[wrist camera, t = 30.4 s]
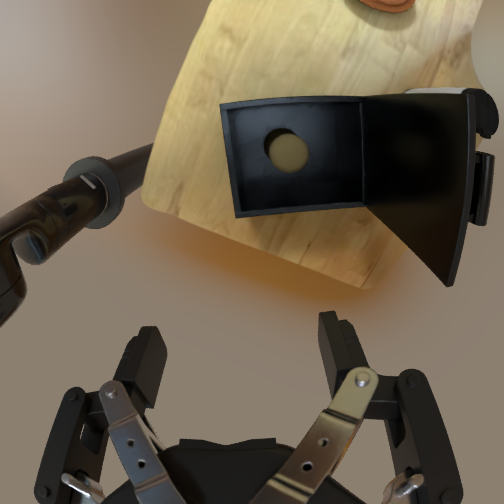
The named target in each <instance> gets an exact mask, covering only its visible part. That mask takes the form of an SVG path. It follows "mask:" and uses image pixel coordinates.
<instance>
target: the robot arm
mask: <svg viewBox="0 0 504 504" xmlns="http://www.w3.org/2000/svg"><path fill="white" fill-rule="evenodd" d="M108 201H109V193H108V189H107V186H106V184H105V182H104V181H103V179H102V178H101V177H100V176H99V175H97V174H95V173H93V172H83V173H80V174H78V175H77V176H75V177H73V178H71V179H69V180H67V181H65V182H63V183H61V184H58V185H55V186H53V187H51V188H49V189H48V190H47V191H46V192H44V193H42V194H40V195H38V196H36V197H35V198H33V199H31V200H29V201H28V202H26V203H24V204H22V205H21V206H19V207H17V208H15V209H14V210H12V211H10V212H8V213H7V214H5V215H4V216H2V217H0V328H1V327H2V326H3V325H4V324H5V323H6V322H7V321H8V320H9V319H10V317H12V315H13V314H14V313H15V312H16V311H17V310H18V308H19V307H20V306H21V304H22V303H23V300H24V299H25V297H26V294H27V285H26V281H25V278H24V275H23V273H22V270H21V267H20V265H19V262H18V259H17V257H16V254H17V255H18V256H19V257H20V258H21V259H22V260H24V261H25V262H26V263H29V264H31V265H40V264H43V263H44V262H46V261H47V260H48V259H49V258H50V257H51V256H52V255H54V253H56V252H57V251H58V250H59V249H60V248H61V247H62V246H63V245H64V244H65V243H67V242H68V241H69V240H70V239H71V238H72V237H73V236H75V235H76V234H77V233H78V232H79V231H81V230H82V229H83V228H84V227H85V226H87V225H88V224H89V223H90V222H92V221H93V220H94V219H95V218H97V217H98V216H100V215H101V214H102V213H103V212H104V211H105V210H106V208H107V205H108ZM15 253H16V254H15ZM318 342H319V348H320V352H321V356H322V360H323V364H324V368H325V372H326V376H327V381H328V385H329V389H330V394H331V398H332V401H331V403H330V405H329V406H328V408H327V409H324V410H323V411H322V412H321V413H320V415H319V416H318V418H317V419H316V421H315V422H314V424H313V425H312V427H311V428H310V430H309V431H308V432H307V434H306V435H305V437H304V438H303V440H302V441H301V443H300V444H299V445H298V446H297V448H296V449H295V448H293V447H290V446H288V445H284V444H278V443H276V438H266V439H251V440H247V441H243V442H239V443H235V444H231V445H221V444H217V443H213V442H209V441H205V440H195V439H194V440H193V439H180V442H179V445H175V446H172V447H169V448H167V449H166V447H165V446H164V445H163V444H162V442H161V441H160V440H159V437H158V436H157V434H156V432H155V431H154V429H153V427H152V425H151V424H150V422H149V420H148V418H147V416H146V415H145V409H146V408H153V409H154V405H155V401H156V397H157V393H158V389H159V386H160V382H161V378H162V374H163V370H164V367H165V363H166V359H167V348H166V345H165V343H164V341H163V339H162V336H161V334H160V332H159V330H158V328H157V327H156V326H143V327H141V329H140V331H139V334H138V336H134V337H133V338H132V339H131V340H130V341H129V343H128V344H127V346H126V348H125V352H124V353H123V356H122V359H121V360H120V363H119V365H118V368H117V370H116V373H115V375H114V378H113V380H112V381H108V382H106V383H105V384H103V385H102V387H101V388H100V390H99V391H96V392H90V393H86V392H85V391H84V390H83V389H82V388H80V387H73V388H71V389H69V390H68V391H67V392H66V393H65V395H64V397H63V400H62V402H61V405H60V407H59V410H58V413H57V415H56V418H55V421H54V424H53V426H52V429H51V432H50V435H49V438H48V441H47V444H46V447H45V451H44V454H43V457H42V461H41V464H40V468H39V471H38V475H37V479H36V483H35V487H34V495H35V498H36V500H37V501H38V502H39V503H40V504H366V503H365V502H363V501H362V500H361V499H359V498H358V497H356V496H355V495H354V494H353V493H351V492H350V491H349V490H347V489H346V488H345V487H343V486H342V485H341V484H340V483H338V482H337V481H336V480H335V479H333V478H332V477H331V476H332V474H333V473H334V471H335V470H336V468H337V466H338V465H339V463H340V461H341V460H342V458H343V457H344V455H345V453H346V451H347V449H348V447H349V446H350V444H351V442H352V440H353V439H354V437H355V435H356V433H357V431H358V429H359V428H360V426H361V424H362V422H363V420H364V419H378V420H384V423H385V427H386V432H387V436H388V440H389V445H390V450H391V454H392V459H393V464H394V469H395V475H396V478H394V479H393V480H392V481H391V482H390V483H389V484H388V485H387V486H386V488H385V490H384V498H383V502H382V504H460V503H461V501H462V499H463V488H462V483H461V479H460V475H459V471H458V468H457V464H456V460H455V457H454V453H453V450H452V447H451V444H450V441H449V438H448V434H447V431H446V428H445V426H444V423H443V419H442V417H441V414H440V411H439V408H438V406H437V403H436V400H435V398H434V395H433V393H432V390H431V388H430V385H429V383H428V380H427V378H426V376H425V375H424V374H423V373H422V372H421V371H419V370H416V369H407V370H404V371H403V372H401V373H400V375H399V376H383V375H379V374H377V373H376V372H375V371H374V370H373V369H371V368H370V367H369V365H368V362H367V360H366V357H365V355H364V352H363V350H362V347H361V344H360V342H359V339H358V337H357V335H356V332H355V329H354V327H353V325H352V324H351V323H349V322H348V321H347V320H339V321H338V318H337V315H336V312H335V311H327V312H320V313H319V325H318ZM83 424H84V425H85V426H84V429H83V432H82V436H81V439H80V435H81V431H82V428H83ZM109 435H110V438H111V440H112V442H113V445H114V447H115V449H116V452H117V454H118V456H119V458H120V461H121V463H122V465H123V467H124V469H125V471H126V473H127V475H128V477H129V479H128V480H127V481H126V482H125V483H124V484H123V485H121V486H120V487H119V488H118V489H116V490H115V491H114V492H113V493H111V494H110V495H109V496H107V498H105V495H104V494H103V490H102V488H101V486H100V485H99V481H100V476H101V470H102V465H103V460H104V456H105V451H106V446H107V441H108V438H109Z"/></svg>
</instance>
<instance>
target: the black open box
mask: <svg viewBox="0 0 504 504" xmlns="http://www.w3.org/2000/svg"><path fill="white" fill-rule="evenodd" d="M220 110H221V111H220V113H221V120H222V127H223V134H224V141H225V149H226V156H227V163H228V170H229V177H230V184H231V190H232V197H233V204H234V211H235V218H244V217H254V216H263V215H273V214H283V213H293V212H304V211H316V210H328V209H340V208H354V207H367V141H366V121H365V107H364V96H297V97H280V98H267V99H257V100H247V101H239V102H231V103H224V104H220ZM277 128H287V129H290V130H292V131H293V132H294V133H296V134H297V136H299V137H301V138H302V139H303V140H304V141H305V142H306V144H307V146H308V148H309V159H308V161H307V164H306V165H305V166H304V167H303V168H302V169H301V170H299V171H297V172H293V173H285V172H282V171H280V170H278V169H277V168H276V167H274V165H273V164H272V162H271V160H270V159H269V158H268V157H267V155H266V154H265V151H264V148H263V147H264V140H265V138H266V136H267V135H268V134H269V132H271V131H272V130H274V129H277Z"/></svg>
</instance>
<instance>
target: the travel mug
mask: <svg viewBox="0 0 504 504" xmlns="http://www.w3.org/2000/svg"><path fill="white" fill-rule="evenodd" d="M404 93H459V94H469V95H473V96H474V98H475V119H476V133H479V134H480V136H481V137H483V138H486V139H490V138H491V135H493V134H494V133H495V132H496V130H497V128H498V124H499V115H498V110H497V107H496V104H495V102H494V100H493V98H492V97H491V96H490V95H489V94H487V93H486V91H484V90H482V89H474V88H420V89H408V90H406V91H405V92H404Z"/></svg>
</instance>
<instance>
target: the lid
mask: <svg viewBox="0 0 504 504" xmlns="http://www.w3.org/2000/svg"><path fill="white" fill-rule="evenodd" d="M364 107H365V121H366V141H367V209H368V210H370V211H371V212H372V213H373V214H374V215H375V216H376V217H377V218H378V219H380V220H381V221H382V222H383V223H384V224H385V225H386V226H387V227H388V228H389V229H390V230H391V231H392V232H394V233H395V234H396V235H397V236H398V237H399V238H400V239H401V240H402V241H403V242H404V243H405V244H406V245H407V246H408V247H409V248H410V249H411V250H412V251H413V252H414V253H415V254H416V255H417V256H418V257H419V258H420V259H421V260H422V261H423V262H424V263H425V264H426V266H427V267H428V268H429V269H430V270H431V271H432V272H433V273H434V274H435V275H436V276H437V277H438V278H439V280H440V281H441V282H442V283H443V284H444V285H445V286H446V287H450V286H453V284H454V281H455V277H456V273H457V270H458V266H459V262H460V258H461V253H462V249H463V245H464V239H465V234H466V229H467V224H468V222H471V223H473V224H475V225H478V226H485V225H486V224H487V218H488V213H489V207H490V200H491V193H492V184H493V175H494V162H495V156H494V155H491V154H488V153H484V152H480V151H475V145H476V119H475V98H474V96H473V95H469V94H459V93H402V94H385V95H372V96H364Z"/></svg>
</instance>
